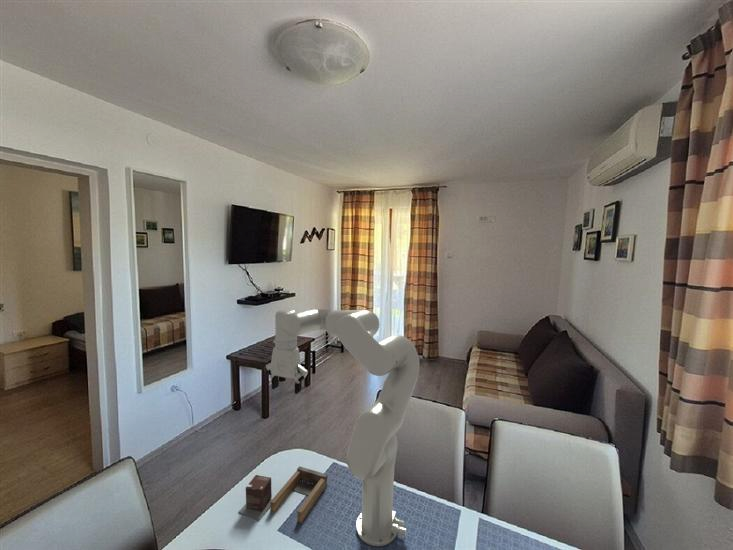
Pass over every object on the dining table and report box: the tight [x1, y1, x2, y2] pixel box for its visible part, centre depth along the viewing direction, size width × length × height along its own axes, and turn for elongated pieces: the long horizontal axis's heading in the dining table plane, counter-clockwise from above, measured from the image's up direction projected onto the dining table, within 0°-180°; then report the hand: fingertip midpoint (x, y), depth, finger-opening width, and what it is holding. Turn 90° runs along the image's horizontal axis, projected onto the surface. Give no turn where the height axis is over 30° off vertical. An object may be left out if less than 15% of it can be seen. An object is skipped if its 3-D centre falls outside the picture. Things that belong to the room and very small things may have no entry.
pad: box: [238, 498, 273, 521], centre depth 102 cm, size 8×8×1 cm
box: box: [245, 474, 273, 511], centre depth 103 cm, size 6×6×7 cm
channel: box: [269, 465, 328, 524], centre depth 106 cm, size 12×17×4 cm
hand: (286, 390), depth 113 cm, fingers open, 9 cm apart
